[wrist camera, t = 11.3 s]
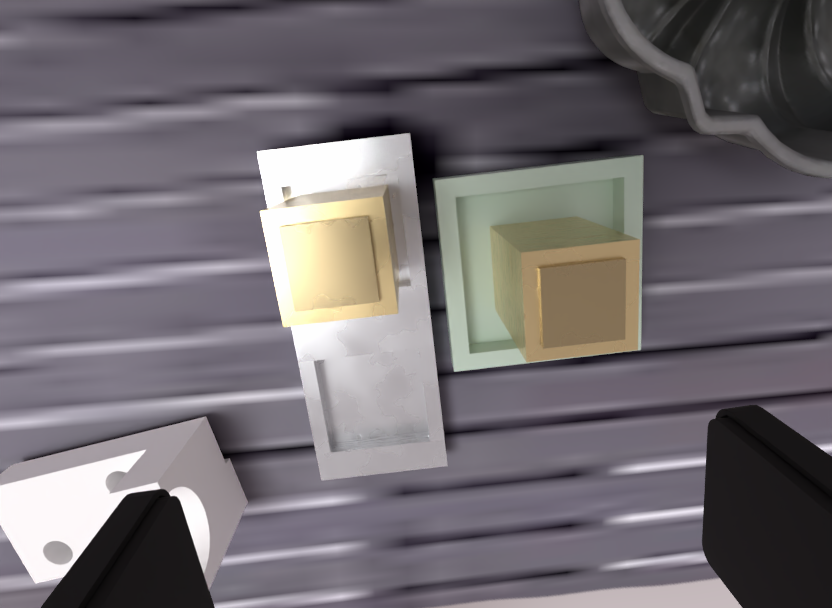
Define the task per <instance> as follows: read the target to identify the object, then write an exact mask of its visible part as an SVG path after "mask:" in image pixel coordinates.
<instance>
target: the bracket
mask: <svg viewBox="0 0 832 608" xmlns="http://www.w3.org/2000/svg"><path fill="white" fill-rule="evenodd" d="M156 489H165V490H166V491H167V492H168V493H169V494H170V496H177V497H178V498H179V500H180V502H181V505H182V508H183V511H184V514H185V518H186V521H187V524H188V527H189V530H190V533H191V536H192V539H193V542H194V545H195V549H196V552H197V555H198V558H199V561H200V564H201V567H202V570H203V573H204V576H205V580H206V583H207V586H208V589H209V590H210V587H211V585H212V583H213V580H214V578H215V576H216V574H217V571H218V569H219V567H220V565H221V562H222V560H223V558H224V555H225V553H226V551H227V549H228V546H229V544H230V542H231V540H232V537H233V535H234V533H235V530H236V528H237V526H238V524H239V521H240V519H241V517H242V514H243V512H244V510H245V508H246V505H247V503H248V501H247V499H246V496H245V494H244V491H243V489H242V487H241V484H240V482H239V480H238V477H237V475H236V472H235V470H234V468H233V465H232V463H231V460H230V458H228V459H224V458H223V455H222V453H221V451H220V448H219V446H218V443H217V441H216V439H215V436H214V434H213V432H212V429H211V427H210V425H209V422H208V420H207V418H206V417H202V418H198V419H194V420H190V421H186V422H182V423H178V424H174V425H170V426H166V427H162V428H158V429H154V430H149V431H145V432H141V433H137V434H133V435H129V436H125V437H121V438H117V439H113V440H109V441H105V442H101V443H97V444H93V445H89V446H85V447H81V448H77V449H73V450H69V451H65V452H61V453H57V454H53V455H49V456H45V457H41V458H37V459H33V460H29V461H25V462H21V463H17V464H13V465H11V466H10V467H9V468H7V469H6V470H5V471H4V472H2V473H1V474H0V525H1V527H2V529H3V530H4V532H5V534H6V535H7V537H8V539H9V540H10V542H11V544H12V545H13V547H14V549H15V550H16V552H17V554H18V555H19V557H20V559H21V560H22V562H23V564H24V565H25V567H26V569H27V570H28V572H29V574H30V575H31V577H32V579H33V580H34V582H35V584H36V583H40V582H44V581H48V580H53V579H57V578H61V577H64V576H65V575H66V573H67V572H68V571H69V569H70V568H71V567H72V565H73V564H74V563H75V561H76V560H77V559H78V558H79V556H80V555H81V554H82V552H83V551H84V550H85V548H86V547H87V546H88V544H89V543H90V542H91V540H92V539H93V538H94V536H95V535H96V534H97V532H98V531H99V530H100V528H101V527H102V526H103V524H104V523H105V522H106V520H107V519H108V518H109V516H110V515H111V514H112V512H113V511H114V510H115V508H116V507H117V506H118V505H119V503H120V502H121V501H122V499H123V498H124V497H125V496H126V495H127V494H130V493H135V492H142V491H149V490H156Z"/></svg>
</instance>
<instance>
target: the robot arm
mask: <svg viewBox="0 0 832 608" xmlns="http://www.w3.org/2000/svg"><path fill="white" fill-rule="evenodd" d="M702 546H703V550H704V553H705V556H706V558H707V561H708V562H709V564H710V566H711V567H712V568H713V570H714V571H715V572H716V574H717V575H718V576H719V578H720V579H721V580H722V581H723V583H724V584H725V585H726V587H727V588H728V589H729V591H730V592H731V593H732V595H733V596H734V597H735V598H736V600H737V601H738V602H739V604H740V605H741V606H742V607H743V608H832V457H831V456H830V455H828V454H827V453H826V452H824V451H823V450H821V449H820V448H819V447H817V446H816V445H814V444H813V443H811V442H810V441H809V440H807V439H806V438H804V437H803V436H801V435H800V434H799V433H797V432H796V431H794V430H793V429H791V428H790V427H789V426H787V425H786V424H784V423H783V422H782V421H780V420H779V419H777V418H776V417H774V416H773V415H772V414H770V413H769V412H767V411H766V410H764V409H763V408H761V407H759V406H757V405H749V406H742V407H735V408H728V409H722V410H720V411H719V412H718V413H717V415H716V419H713V420H711V421H710V422H709V425H708V435H707V455H706V475H705V495H704V515H703V535H702ZM41 608H215V607H214V604H213V601H212V598H211V595H210V592H209V589H208V586H207V583H206V580H205V576H204V573H203V570H202V567H201V564H200V561H199V558H198V555H197V552H196V549H195V545H194V542H193V539H192V536H191V533H190V530H189V527H188V524H187V521H186V518H185V514H184V511H183V508H182V505H181V502H180V500H179V498H178V497H177V496H170V494H169V493H168V492H167V491H166V490H165V489H156V490H149V491H142V492H135V493H130V494H127V495H126V496H125V497H124V498H123V499H122V501H121V502H120V503H119V505H118V506H117V507H116V508H115V510H114V511H113V512H112V514H111V515H110V516H109V518H108V519H107V520H106V522H105V523H104V524H103V526H102V527H101V528H100V530H99V531H98V532H97V534H96V535H95V536H94V538H93V539H92V540H91V542H90V543H89V544H88V546H87V547H86V548H85V550H84V551H83V552H82V554H81V555H80V556H79V558H78V559H77V560H76V561H75V563H74V564H73V565H72V567H71V568H70V569H69V571H68V572H67V573H66V575H65V576H64V577H63V579H62V580H61V581H60V583H59V584H58V585H57V587H56V588H55V589H54V591H53V592H52V593H51V595H50V596H49V597H48V599H47V600H46V601H45V603H44V604H43V605H42V607H41Z"/></svg>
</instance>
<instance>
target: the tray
mask: <svg viewBox="0 0 832 608" xmlns="http://www.w3.org/2000/svg"><path fill="white" fill-rule="evenodd" d="M433 189H434V199H435V208H436V218H437V228H438V237H439V247H440V257H441V266H442V276H443V286H444V295H445V305H446V315H447V324H448V334H449V344H450V353H451V360H452V365H453V369H454V372H456V371H465V370H473V369H482V368H490V367H499V366H507V365H516V364H525V363H533V362H526V361H525V359H524V357H523V356H522V354H521V352H520V351H519V349H518V347H517V345H516V344H515V342H514V340H513V339H512V337H511V335H510V334H509V332H508V330H507V329H506V327H505V325H504V323H503V322H502V320H501V318H500V317H499V315H498V313H497V312H496V310H495V298H494V284H493V269H492V254H491V239H490V226H496V225H505V224H514V223H522V222H531V221H540V220H549V219H558V218H567V217H575V216H578V217H580V218H583V219H586V220H589V221H591V222H594V223H597V224H599V225H602V226H605V227H608V228H610V229H613V230H616V231H619V232H621V233H624V234H627V235H630V236H632V237H635V238H638V239H640V263H639V322H638V350H641V311H642V231H643V155H624V156H615V157H607V158H599V159H590V160H582V161H574V162H566V163H557V164H549V165H541V166H532V167H524V168H516V169H507V170H499V171H491V172H482V173H474V174H466V175H457V176H449V177H441V178H433ZM633 351H636V350H633ZM625 352H627V351H625ZM616 353H618V352H616ZM607 354H610V353H607ZM598 355H601V354H598ZM589 356H593V355H589ZM580 357H584V356H580ZM571 358H576V357H571ZM562 359H567V358H562ZM553 360H559V359H553ZM544 361H550V360H544ZM535 362H542V361H535Z"/></svg>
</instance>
